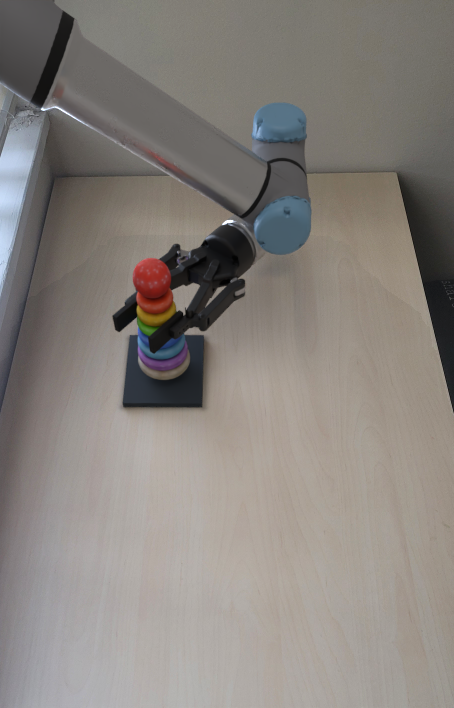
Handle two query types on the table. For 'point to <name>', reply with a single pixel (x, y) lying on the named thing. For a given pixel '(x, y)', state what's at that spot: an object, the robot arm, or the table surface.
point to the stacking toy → (157, 321)
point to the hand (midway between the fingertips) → (133, 334)
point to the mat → (165, 392)
